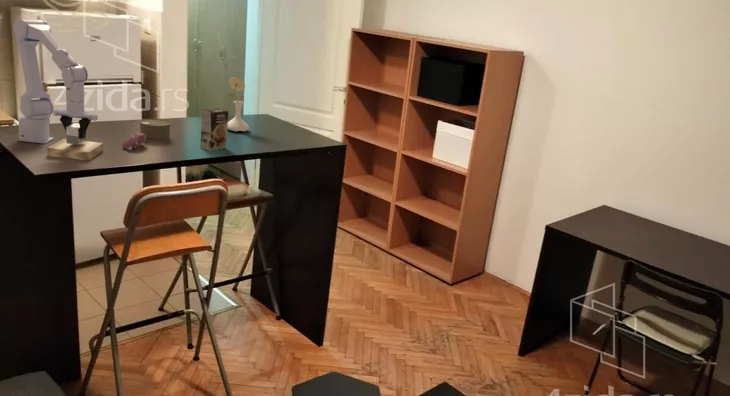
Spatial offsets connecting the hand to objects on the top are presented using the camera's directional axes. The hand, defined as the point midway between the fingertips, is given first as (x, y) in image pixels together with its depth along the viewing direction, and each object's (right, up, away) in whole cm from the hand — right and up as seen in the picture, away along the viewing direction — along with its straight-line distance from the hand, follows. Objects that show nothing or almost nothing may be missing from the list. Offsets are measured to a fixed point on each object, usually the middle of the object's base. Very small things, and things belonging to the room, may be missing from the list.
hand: (76, 137), depth 210 cm
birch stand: (-1, -5, +2) cm, 6 cm away
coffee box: (+41, -1, +34) cm, 53 cm away
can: (+15, +3, +36) cm, 39 cm away
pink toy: (+13, -2, +20) cm, 24 cm away
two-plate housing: (0, -1, +1) cm, 2 cm away
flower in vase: (+42, +11, +69) cm, 82 cm away
